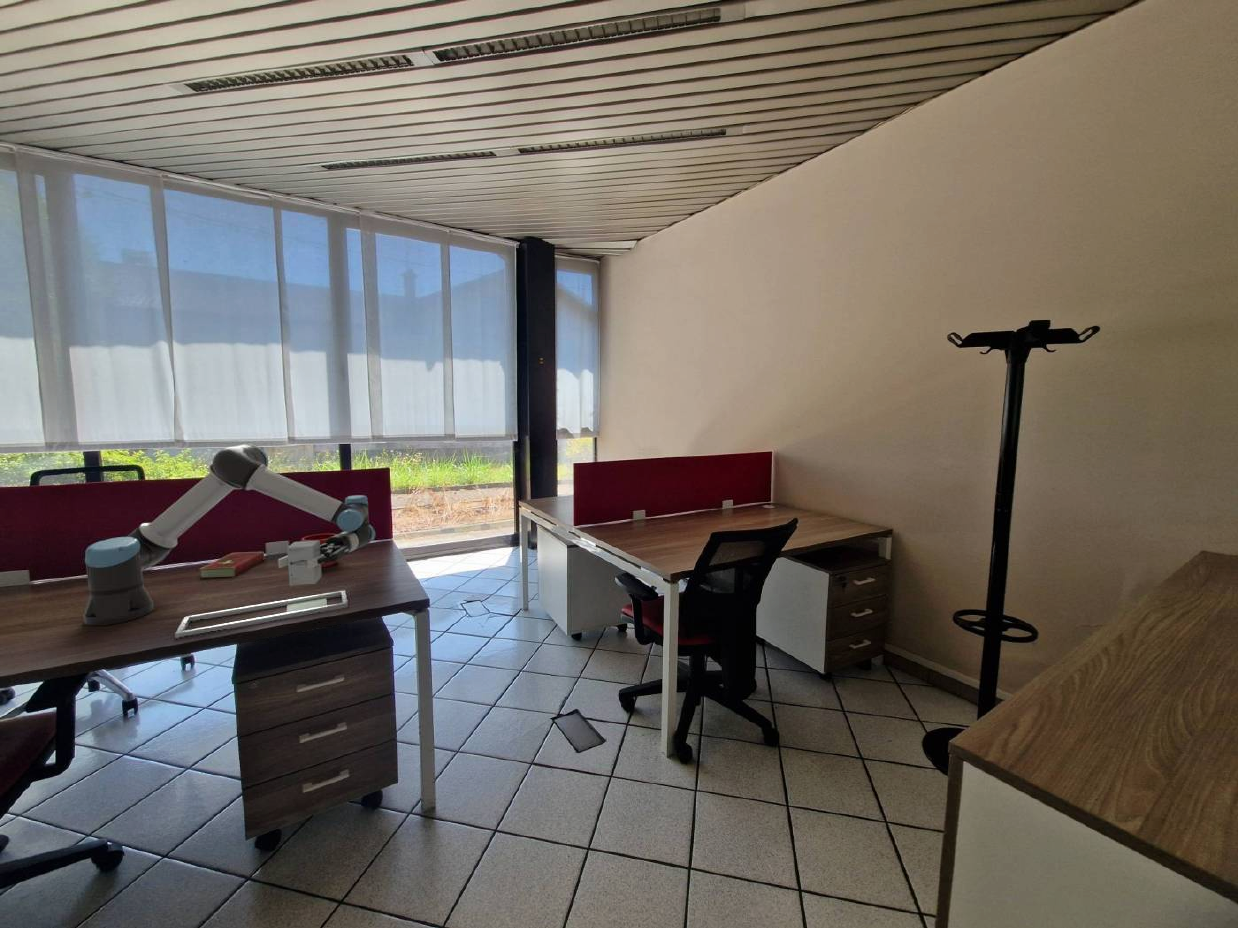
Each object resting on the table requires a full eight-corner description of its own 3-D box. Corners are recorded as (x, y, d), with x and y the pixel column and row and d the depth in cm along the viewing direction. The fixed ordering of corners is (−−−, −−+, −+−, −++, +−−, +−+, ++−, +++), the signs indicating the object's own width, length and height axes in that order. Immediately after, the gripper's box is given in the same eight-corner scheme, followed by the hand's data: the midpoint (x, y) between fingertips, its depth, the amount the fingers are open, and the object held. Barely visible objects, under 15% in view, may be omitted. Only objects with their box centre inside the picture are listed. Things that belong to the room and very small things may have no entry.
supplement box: (288, 586, 154) (285, 547, 152) (297, 578, 161) (294, 541, 159) (315, 584, 156) (312, 545, 154) (322, 576, 163) (320, 539, 161)
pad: (286, 616, 152) (286, 615, 152) (287, 605, 160) (287, 604, 160) (327, 609, 158) (327, 608, 158) (326, 598, 166) (326, 597, 166)
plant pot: (346, 563, 204) (344, 535, 203) (313, 571, 193) (311, 542, 192) (329, 557, 211) (328, 530, 210) (296, 565, 200) (294, 537, 199)
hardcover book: (264, 560, 208) (263, 551, 207) (235, 577, 187) (234, 566, 187) (233, 561, 206) (232, 552, 205) (199, 579, 185) (198, 568, 185)
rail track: (175, 638, 137) (174, 633, 137) (185, 621, 148) (184, 616, 148) (347, 607, 160) (347, 602, 159) (345, 594, 171) (345, 590, 170)
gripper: (370, 555, 175) (327, 577, 152) (313, 553, 177) (262, 574, 154) (369, 534, 174) (325, 553, 151) (312, 533, 176) (260, 551, 154)
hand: (294, 564), depth 153 cm, fingers closed on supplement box, 9 cm apart
